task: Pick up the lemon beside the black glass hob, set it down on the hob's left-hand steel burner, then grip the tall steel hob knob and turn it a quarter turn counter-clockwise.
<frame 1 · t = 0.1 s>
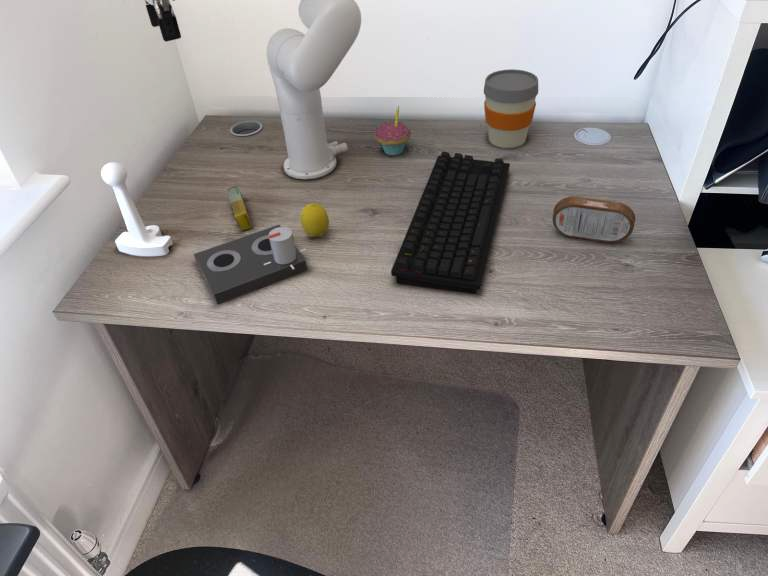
hand: (166, 32, 116), 37 cm above the table, tool pointing down, fingers open, 9 cm apart
keyboard: (456, 224, 127), on the table
tin: (589, 238, 120), on the table
reusable coffee cup: (507, 139, 152), on the table
cupcake: (393, 151, 151), on the table
lemon: (317, 237, 127), on the table
joystick: (148, 245, 128), on the table
medication box: (241, 217, 134), on the table
burners: (246, 252, 120), on the hob, point 3 cm above the table
hob: (251, 267, 120), on the table
hob knob: (282, 245, 116), point 5 cm above the table, hinge at 0.0°
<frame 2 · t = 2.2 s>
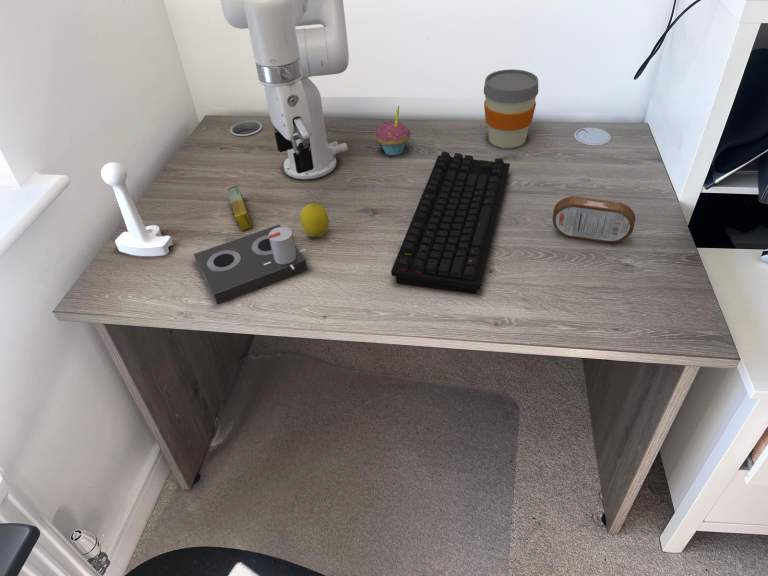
hand: (295, 160, 116), 17 cm above the table, tool pointing down, fingers open, 9 cm apart
nothing on the table moved.
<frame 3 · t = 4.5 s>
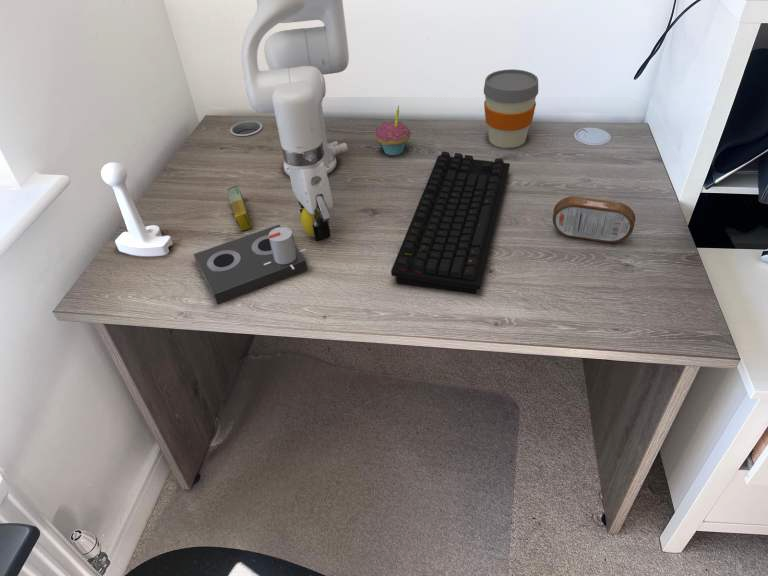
hand: (316, 230, 125), 2 cm above the table, tool pointing down, fingers closed on lemon, 5 cm apart
lemon: (317, 237, 127), on the table, touching gripper
everything else where it was.
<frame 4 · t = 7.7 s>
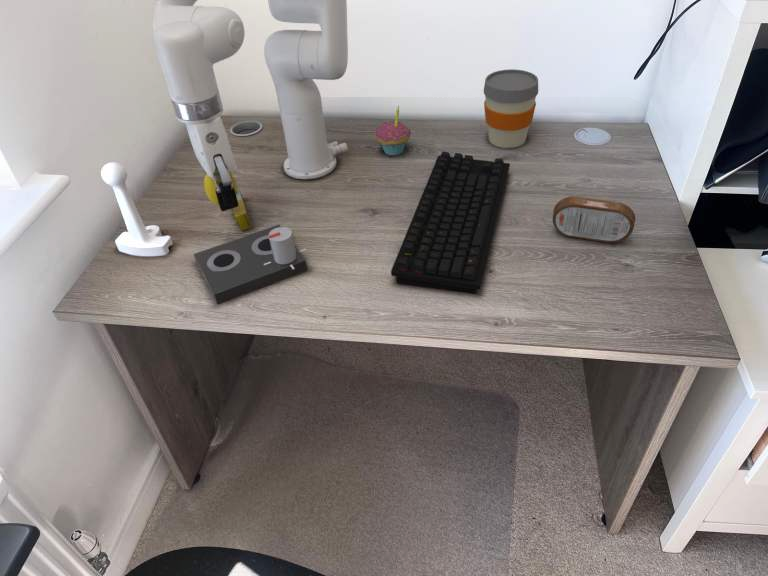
hand: (224, 199, 111), 15 cm above the table, tool pointing down, fingers closed on lemon, 5 cm apart
lemon: (226, 207, 112), point 14 cm above the table, touching gripper
everything else where it was.
when the fingers open (4 cm above the table, at t = 10.9 s): lemon stays where it is, resting on burners.
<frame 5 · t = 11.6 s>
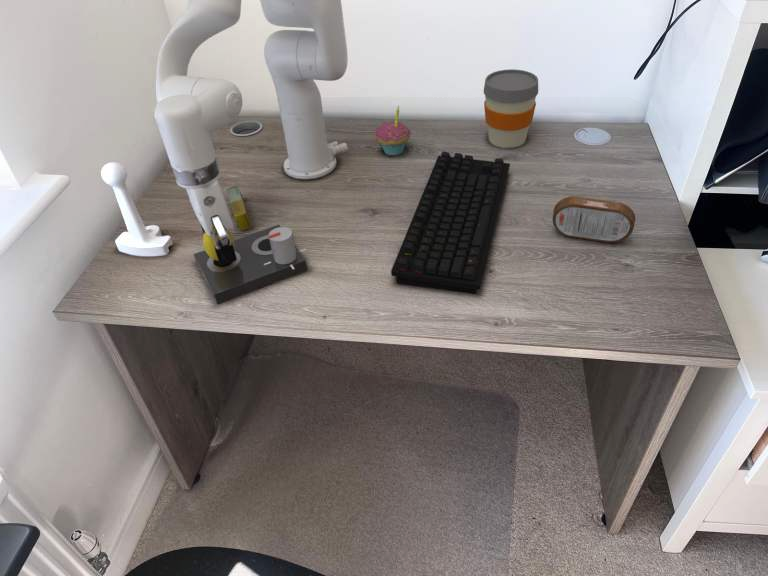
hand: (220, 248, 116), 5 cm above the table, tool pointing down, fingers open, 9 cm apart
lemon: (224, 260, 118), point 2 cm above the table, touching burners
everything else where it was.
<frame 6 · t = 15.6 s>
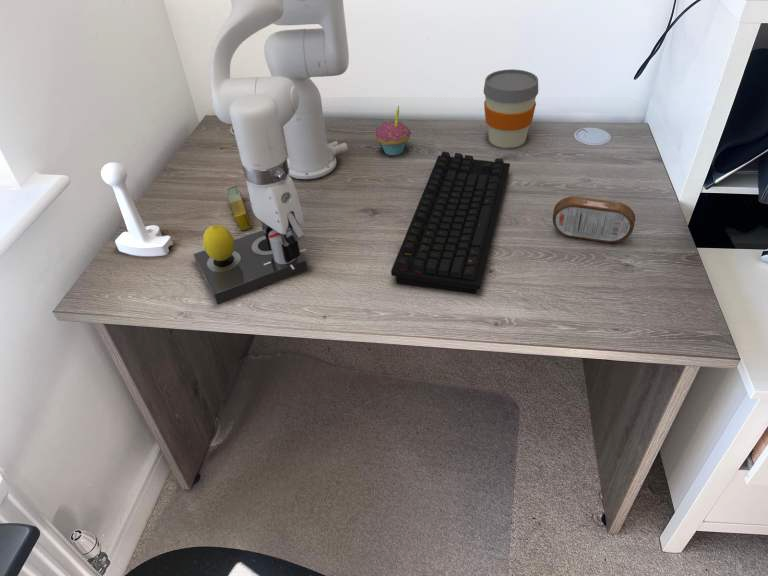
hand: (284, 252, 117), 4 cm above the table, tool pointing down, fingers closed on hob knob, 4 cm apart
hob knob: (282, 245, 116), point 5 cm above the table, hinge at 0.2°, touching gripper
everything else where it was.
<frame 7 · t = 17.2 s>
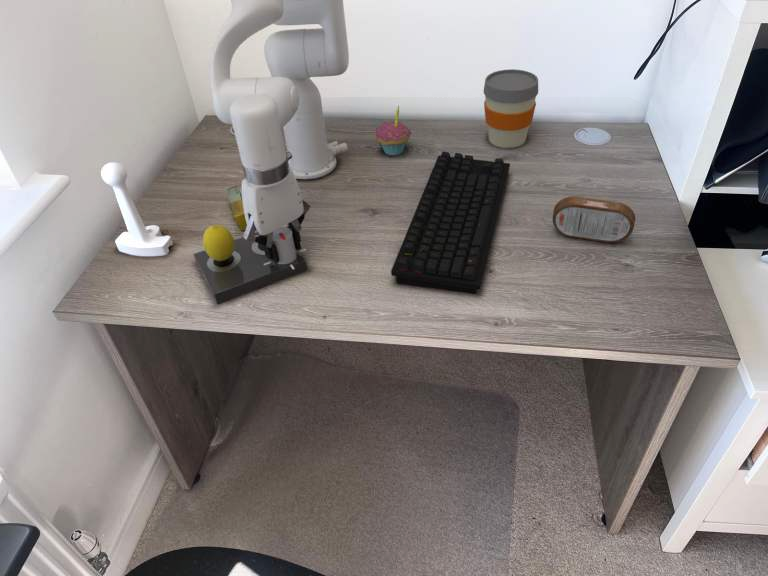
hand: (284, 252, 117), 4 cm above the table, tool pointing down, fingers closed on hob knob, 4 cm apart
hob knob: (282, 245, 116), point 5 cm above the table, hinge at 90.2°, touching gripper
everything else where it was.
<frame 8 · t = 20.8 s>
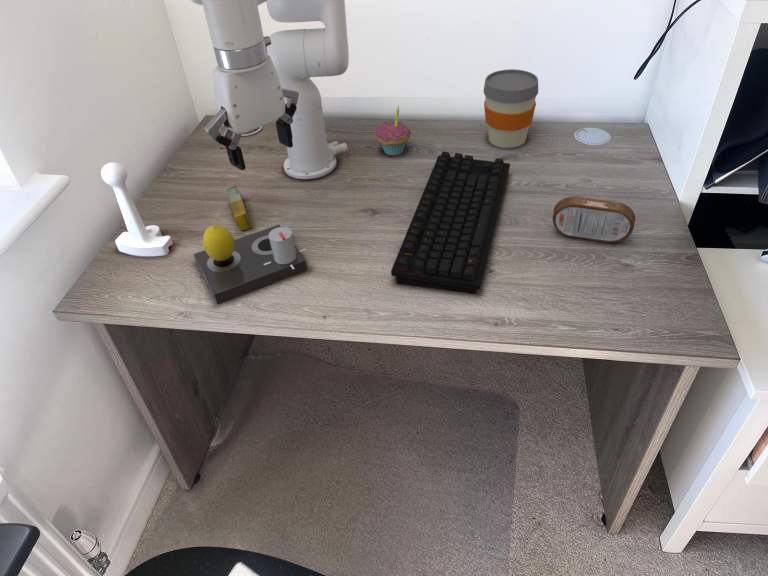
hand: (263, 155, 103), 24 cm above the table, tool pointing down, fingers open, 9 cm apart
hob knob: (282, 245, 116), point 5 cm above the table, hinge at 89.5°
everything else where it was.
at the end: lemon inside the target area on the hob (1.6 cm from its centre), point 2.5 cm above the hob's base; hob knob at +90° (first picture: +0°) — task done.
